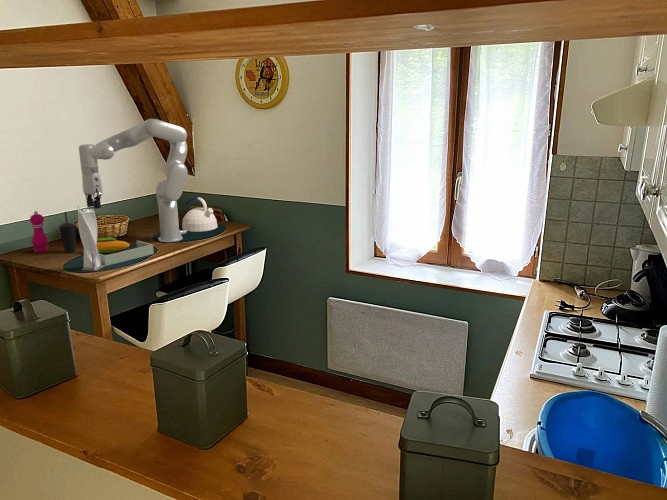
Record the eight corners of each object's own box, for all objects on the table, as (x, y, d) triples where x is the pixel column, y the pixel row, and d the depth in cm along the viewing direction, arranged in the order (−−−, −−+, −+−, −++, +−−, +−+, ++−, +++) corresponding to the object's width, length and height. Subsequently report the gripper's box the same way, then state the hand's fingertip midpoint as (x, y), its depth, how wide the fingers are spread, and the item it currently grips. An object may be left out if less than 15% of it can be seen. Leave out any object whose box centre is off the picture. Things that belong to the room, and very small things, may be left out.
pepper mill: (41, 253, 272) (35, 213, 267) (29, 251, 275) (23, 212, 269) (52, 249, 279) (47, 210, 273) (41, 248, 281) (36, 209, 276)
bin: (138, 249, 279) (137, 240, 278) (153, 253, 272) (153, 244, 271) (90, 260, 260) (89, 251, 259) (105, 265, 253) (104, 256, 251)
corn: (87, 236, 274) (130, 234, 278) (89, 251, 276) (131, 248, 280) (84, 241, 267) (128, 239, 271) (86, 256, 269) (129, 253, 273)
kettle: (200, 233, 312) (198, 201, 307) (174, 228, 322) (172, 198, 317) (225, 226, 328) (223, 196, 323) (199, 222, 339) (197, 192, 334)
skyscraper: (78, 269, 247) (70, 207, 239) (89, 264, 255) (81, 204, 247) (95, 270, 246) (88, 208, 238) (106, 265, 253) (99, 204, 246)
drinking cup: (76, 253, 272) (71, 213, 267) (59, 254, 271) (54, 213, 265) (80, 249, 279) (75, 210, 274) (64, 249, 278) (59, 210, 273)
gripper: (106, 171, 266) (110, 208, 271) (87, 168, 277) (92, 204, 282) (92, 172, 261) (96, 210, 266) (73, 169, 271) (77, 206, 276)
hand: (94, 207), depth 274 cm, fingers open, 5 cm apart
